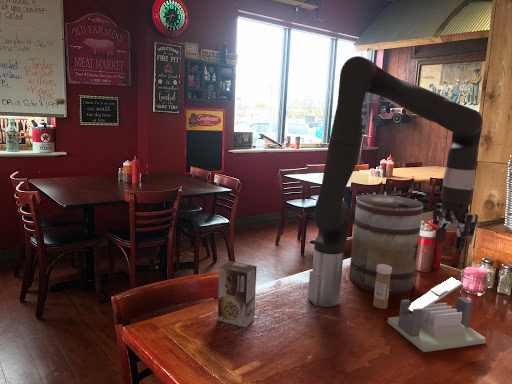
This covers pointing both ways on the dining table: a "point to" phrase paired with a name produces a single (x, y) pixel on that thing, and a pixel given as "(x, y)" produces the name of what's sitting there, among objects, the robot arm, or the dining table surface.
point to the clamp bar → (434, 294)
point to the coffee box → (236, 293)
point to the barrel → (385, 241)
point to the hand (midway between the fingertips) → (449, 245)
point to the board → (437, 325)
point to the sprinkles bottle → (382, 286)
